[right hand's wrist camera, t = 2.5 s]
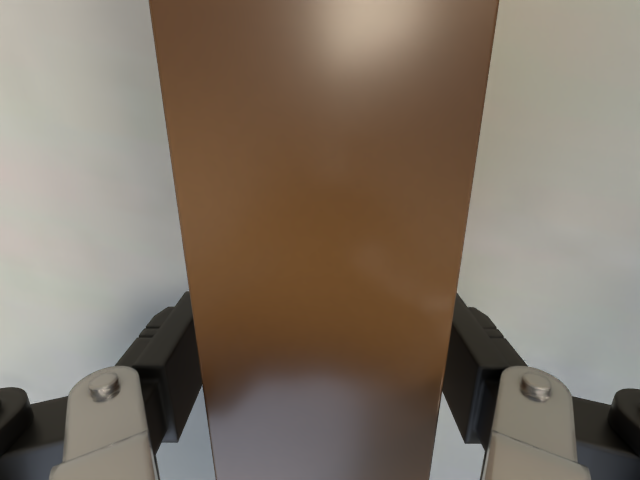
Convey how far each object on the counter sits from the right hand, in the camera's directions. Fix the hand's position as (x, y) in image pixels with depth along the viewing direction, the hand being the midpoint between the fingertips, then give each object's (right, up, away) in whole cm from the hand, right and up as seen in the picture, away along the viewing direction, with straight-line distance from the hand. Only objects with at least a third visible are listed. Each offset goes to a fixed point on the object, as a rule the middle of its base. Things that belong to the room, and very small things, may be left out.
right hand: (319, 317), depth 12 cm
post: (0, +31, -7) cm, 31 cm away
